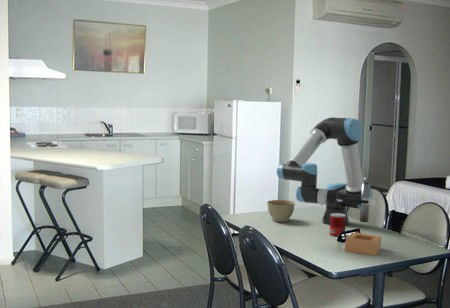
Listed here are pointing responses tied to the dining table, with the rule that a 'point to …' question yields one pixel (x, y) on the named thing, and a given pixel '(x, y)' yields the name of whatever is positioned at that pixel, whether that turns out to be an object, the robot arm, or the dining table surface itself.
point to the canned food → (337, 223)
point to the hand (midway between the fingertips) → (376, 201)
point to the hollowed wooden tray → (363, 243)
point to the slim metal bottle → (366, 195)
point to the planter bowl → (280, 210)
